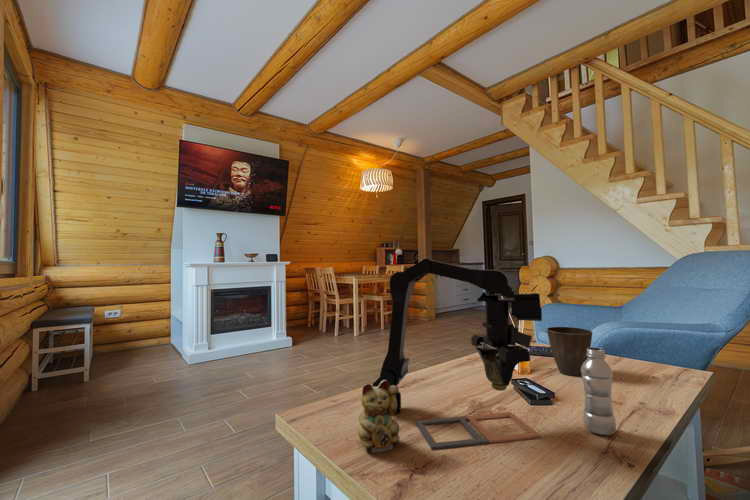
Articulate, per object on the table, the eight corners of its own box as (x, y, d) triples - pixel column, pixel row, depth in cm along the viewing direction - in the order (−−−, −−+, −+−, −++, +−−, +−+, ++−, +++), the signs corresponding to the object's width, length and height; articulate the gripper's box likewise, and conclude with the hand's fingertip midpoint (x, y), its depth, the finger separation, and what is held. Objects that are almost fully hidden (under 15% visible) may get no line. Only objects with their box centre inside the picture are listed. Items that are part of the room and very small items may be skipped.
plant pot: (551, 365, 137) (550, 325, 138) (595, 371, 129) (593, 328, 129) (545, 374, 125) (543, 331, 126) (593, 382, 116) (590, 335, 117)
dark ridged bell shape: (517, 395, 81) (516, 361, 82) (485, 393, 83) (485, 360, 83) (511, 384, 89) (510, 353, 89) (482, 383, 90) (481, 352, 91)
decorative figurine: (365, 459, 72) (363, 387, 73) (352, 440, 80) (351, 376, 81) (404, 448, 76) (403, 381, 77) (388, 432, 84) (387, 371, 85)
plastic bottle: (617, 442, 78) (613, 353, 79) (583, 434, 81) (579, 350, 82) (615, 430, 83) (611, 347, 84) (583, 423, 87) (579, 344, 88)
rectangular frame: (431, 449, 76) (431, 446, 76) (415, 423, 88) (415, 420, 88) (540, 437, 80) (540, 435, 80) (510, 414, 93) (510, 411, 93)
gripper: (550, 324, 79) (552, 392, 78) (506, 313, 97) (507, 368, 96) (506, 326, 77) (508, 395, 76) (469, 314, 95) (471, 370, 95)
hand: (498, 380), depth 86 cm, fingers closed on dark ridged bell shape, 6 cm apart
